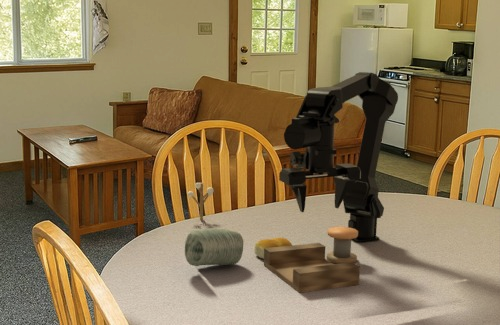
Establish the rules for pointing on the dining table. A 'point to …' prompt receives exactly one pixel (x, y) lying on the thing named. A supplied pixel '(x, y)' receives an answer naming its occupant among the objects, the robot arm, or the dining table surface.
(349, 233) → the orange capped knob
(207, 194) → the cotton branch
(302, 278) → the notch board
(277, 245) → the bread roll
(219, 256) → the spool
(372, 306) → the dining table surface
